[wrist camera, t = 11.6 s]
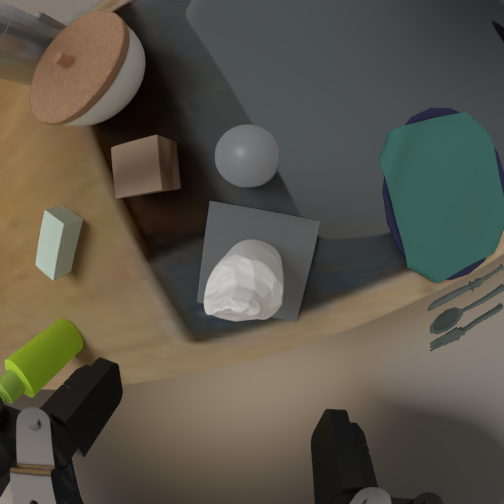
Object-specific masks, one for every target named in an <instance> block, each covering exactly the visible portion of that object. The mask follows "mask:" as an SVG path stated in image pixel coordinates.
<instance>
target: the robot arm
mask: <svg viewBox="0 0 504 504" xmlns="http://www.w3.org/2000/svg"><path fill="white" fill-rule="evenodd" d="M66 27H67V26H66V25H64V24H62V23H61V22H59V21H57V20H55V19H53V18H52V17H50V16H48V15H46V14H44V13H42V12H37V13H35V14H34V15H32V14H30V13H28V12H26V11H23V10H21V9H19V8H17V7H15V6H12V5H10V4H8V3H5V2H3V1H0V78H1V79H5V80H10V81H14V82H18V83H22V84H26V85H30V86H31V84H32V80H33V76H34V73H35V70H36V68H37V65H38V63H39V61H40V59H41V57H42V56H43V54H44V52H45V51H46V49H47V48H48V46H49V45H50V44H51V42H52V41H53V40H54V39H55V38H56V37H57V36H58V35H59V34H60V33H61V32H62V31H63V30H64V29H65V28H66ZM122 393H123V389H122V383H121V377H120V370H119V366H118V364H117V363H114V362H111V361H109V360H106V359H104V358H101V357H100V358H98V359H97V360H96V361H95V362H94V363H93V364H92V365H91V366H89V365H85V366H83V367H81V368H79V369H76V370H75V371H74V373H73V374H72V375H71V376H70V377H69V379H67V380H66V381H65V382H64V383H63V385H61V386H60V387H59V388H58V389H57V391H56V392H55V393H54V394H53V395H52V396H51V397H50V398H49V399H48V401H46V402H45V404H44V405H43V406H42V407H41V408H39V409H38V408H27V409H24V410H23V411H20V410H17V409H14V408H12V407H9V406H7V405H5V404H4V402H3V400H2V399H1V397H0V497H1V495H2V494H3V491H4V490H5V488H6V487H7V485H8V484H9V482H10V480H11V489H12V496H13V502H14V504H84V502H83V500H82V498H81V494H80V491H79V487H78V483H77V479H76V475H75V470H74V465H73V460H72V457H73V455H74V453H77V454H79V455H81V456H82V457H85V456H86V454H87V452H88V451H89V449H90V448H91V446H92V445H93V443H94V441H95V440H96V438H97V437H98V435H99V434H100V432H101V431H102V429H103V428H104V426H105V424H106V423H107V422H108V420H109V418H110V417H111V415H112V414H113V412H114V411H115V409H116V408H117V406H118V405H119V403H120V401H121V399H122ZM366 444H367V442H366V438H365V435H364V432H363V430H362V429H361V428H360V427H359V425H358V424H357V423H350V421H349V417H348V413H347V411H346V410H336V409H335V410H334V409H326V410H325V411H324V413H323V415H322V417H321V419H320V421H319V423H318V424H317V426H316V428H315V430H314V432H313V434H312V439H311V453H312V466H313V482H314V499H315V504H443V502H442V500H441V498H440V497H439V496H438V495H436V494H434V493H430V492H426V493H423V494H420V495H419V496H417V497H416V498H415V499H403V498H393V497H390V496H389V495H388V493H386V492H385V491H384V490H382V489H380V488H379V487H378V485H377V481H376V477H375V473H374V469H373V465H372V461H371V457H370V454H369V449H368V446H367V445H366Z"/></svg>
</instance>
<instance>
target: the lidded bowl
mask: <svg viewBox="0 0 504 504" xmlns="http://www.w3.org/2000/svg"><path fill="white" fill-rule="evenodd" d="M144 72H145V54H144V50H143V47H142V45H141V43H140V41H139V39H138V38H137V36H136V35H135V33H134V32H133V31H132V30H131V29H130V28H129V27H128V26H127V25H126V23H125V21H124V20H123V19H122V18H120V17H119V16H118V15H117V14H115V13H113V12H110V11H98V12H93V13H90V14H87V15H85V16H83V17H81V18H79V19H77V20H76V21H74V22H73V23H71V24H70V25H69V26H67V27H66V28H65V29H64V30H63V31H62V32H61V33H60V34H59V35H58V36H57V37H56V38H55V39H54V40H53V41H52V42H51V44H50V45H49V46H48V48H47V49H46V51H45V52H44V54H43V56H42V57H41V59H40V61H39V63H38V65H37V68H36V70H35V73H34V76H33V80H32V84H31V90H30V102H31V107H32V110H33V112H34V115H35V116H36V117H37V119H38V120H40V121H41V122H43V123H46V124H50V125H64V126H88V125H94V124H97V123H100V122H103V121H105V120H107V119H109V118H111V117H113V116H114V115H116V114H117V113H119V112H120V111H121V110H122V109H123V108H125V107H126V106H127V104H128V103H129V102H130V101H131V100H132V99H133V97H134V96H135V94H136V93H137V91H138V89H139V87H140V85H141V83H142V80H143V76H144Z"/></svg>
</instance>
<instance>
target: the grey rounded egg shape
mask: <svg viewBox="0 0 504 504" xmlns="http://www.w3.org/2000/svg"><path fill="white" fill-rule="evenodd" d="M279 155H280V153H279V148H278V144H277V142H276V141H275V139H274V137H273V136H272V135H271V134H270V133H269V132H268V131H267V130H265V129H263V128H261V127H259V126H256V125H239V126H236V127H234V128H232V129H230V130H228V131H227V132H226V133H225V134H224V135H223V136H222V137H221V138H220V140H219V142H218V144H217V146H216V150H215V163H216V167H217V169H218V171H219V173H220V174H221V175H222V177H223V178H224V179H225V180H227V181H228V182H229V183H231V184H233V185H236V186H240V187H258V186H262V185H264V184H266V183H268V182H269V181H270V180H271V179H272V178H273V177H274V176H275V174H276V172H277V170H278V165H279V158H280V156H279Z"/></svg>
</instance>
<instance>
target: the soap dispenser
mask: <svg viewBox="0 0 504 504" xmlns="http://www.w3.org/2000/svg"><path fill="white" fill-rule="evenodd" d="M82 348H83V339H82V336H81V334H80V332H79V331H78V329H77V328H76V326H75V325H74V324H73V323H71V322H70V321H69V320H67V319H60V320H58V321H57V322H55V323H54V324H53V325H51V326H50V327H48V328H47V329H46V330H44V331H43V332H42V333H40V334H39V335H38V336H36V337H35V338H33V339H32V340H31V341H29V342H28V343H27V344H26V345H24V346H23V347H22V348H20V349H19V350H18V351H16V352H15V353H14V354H13V355H11V356H10V357H9V358H7V359H6V360H5V367H6V370H7V372H6V373H5V374H4V375H2V376H1V377H0V397H1V399H2V400H3V402H4V401H6V402H9V403H10V404H12V403H13V402H14V401H15V400H16V399H17V398H18V397H19V396H21V394H22V393H24V394H25V395H27V396H28V397H33V396H34V395H35V394H36V393H37V392H38V391H39V390H40V389H41V388H42V387H43V386H44V385H45V384H46V383H47V382H48V381H49V380H50V379H52V378H53V377H54V376H55V375H56V374H57V373H58V372H59V371H60V370H61V369H62V368H63V367H64V366H65V365H66V364H67V363H68V362H69V361H70V360H71V359H72V358H73V357H74V356H75V355H76V354H77V353H79V352H80V351H81V350H82Z"/></svg>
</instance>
